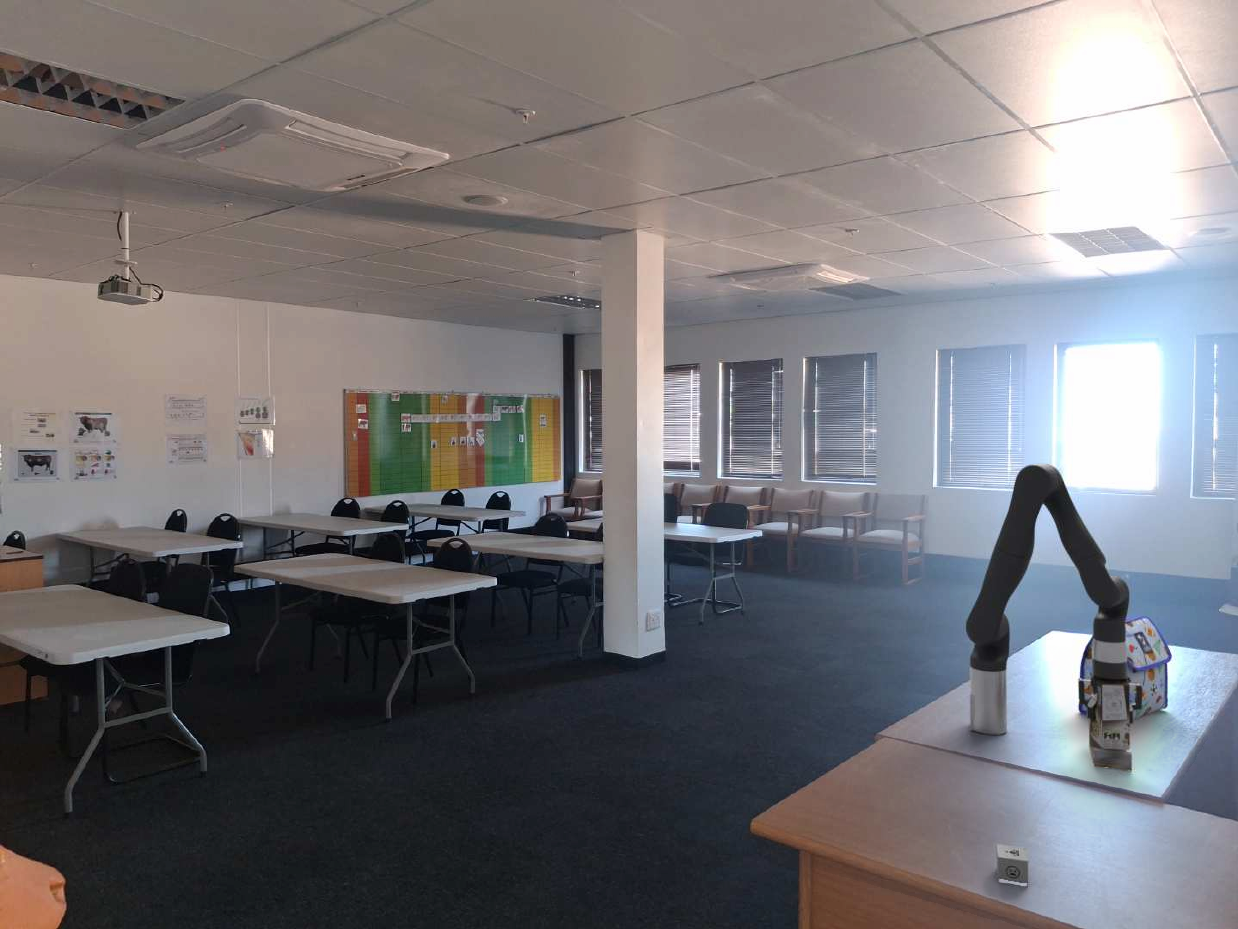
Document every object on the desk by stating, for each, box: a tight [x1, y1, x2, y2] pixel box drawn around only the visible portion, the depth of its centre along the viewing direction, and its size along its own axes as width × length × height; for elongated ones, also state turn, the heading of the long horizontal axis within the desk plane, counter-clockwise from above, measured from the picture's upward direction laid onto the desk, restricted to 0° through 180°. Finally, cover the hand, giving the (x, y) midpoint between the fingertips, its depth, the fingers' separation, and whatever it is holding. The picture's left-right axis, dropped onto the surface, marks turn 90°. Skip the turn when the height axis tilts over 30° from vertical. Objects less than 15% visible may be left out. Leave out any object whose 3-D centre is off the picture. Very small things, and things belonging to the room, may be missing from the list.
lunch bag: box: [1077, 615, 1173, 721], centre depth 244 cm, size 23×17×27 cm
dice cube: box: [996, 843, 1029, 884], centre depth 160 cm, size 5×5×5 cm
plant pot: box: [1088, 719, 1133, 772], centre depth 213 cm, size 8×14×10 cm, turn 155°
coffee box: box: [1090, 675, 1131, 751], centre depth 213 cm, size 9×6×16 cm
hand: (1109, 723), depth 213 cm, fingers closed on coffee box, 7 cm apart
